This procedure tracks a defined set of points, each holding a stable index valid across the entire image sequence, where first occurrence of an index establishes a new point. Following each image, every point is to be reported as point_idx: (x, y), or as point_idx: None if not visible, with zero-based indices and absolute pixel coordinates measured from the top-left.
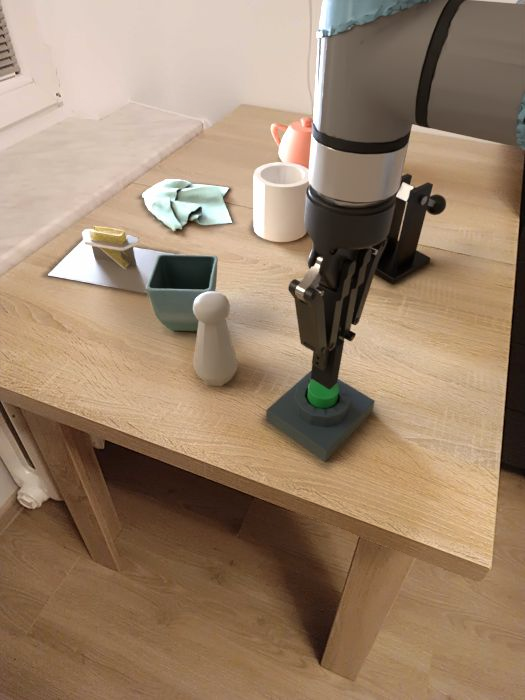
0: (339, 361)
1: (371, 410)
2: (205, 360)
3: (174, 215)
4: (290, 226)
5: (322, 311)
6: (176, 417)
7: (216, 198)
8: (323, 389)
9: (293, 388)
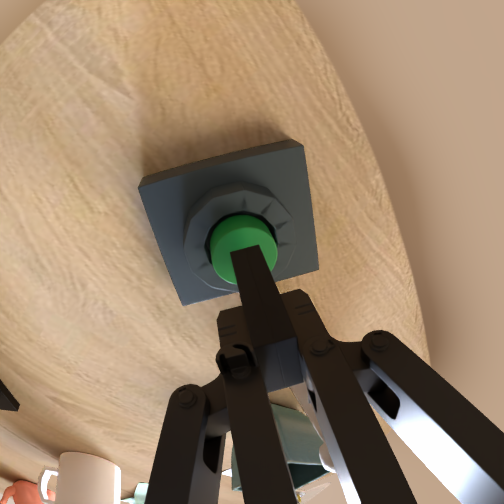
0: (247, 295)
1: (146, 178)
2: None
3: None
4: (85, 471)
5: (496, 470)
6: (383, 309)
7: (141, 499)
8: None
9: None
